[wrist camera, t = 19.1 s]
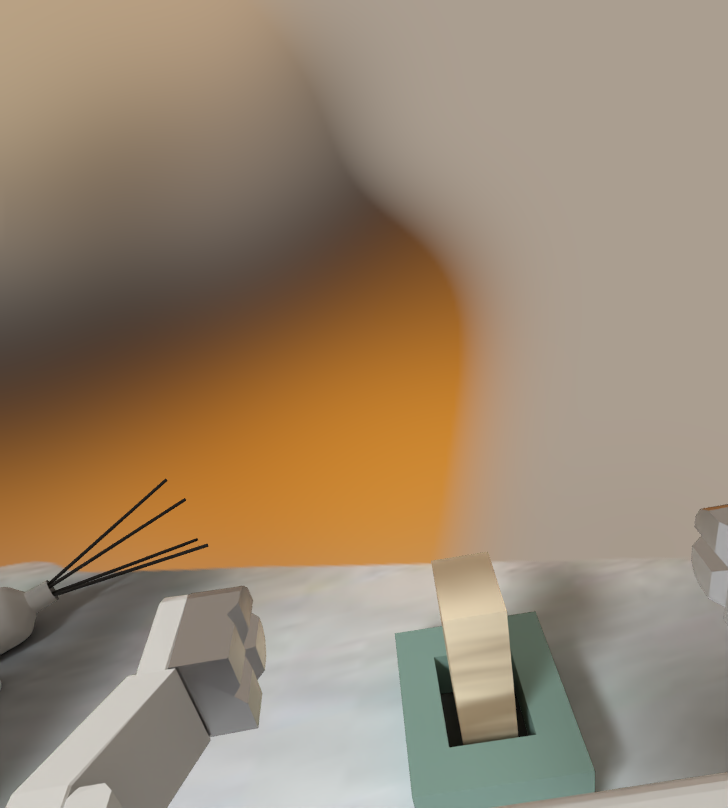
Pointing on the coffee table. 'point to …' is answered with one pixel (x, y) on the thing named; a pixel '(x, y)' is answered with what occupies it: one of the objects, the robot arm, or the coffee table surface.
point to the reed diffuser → (16, 610)
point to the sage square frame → (496, 760)
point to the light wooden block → (477, 647)
